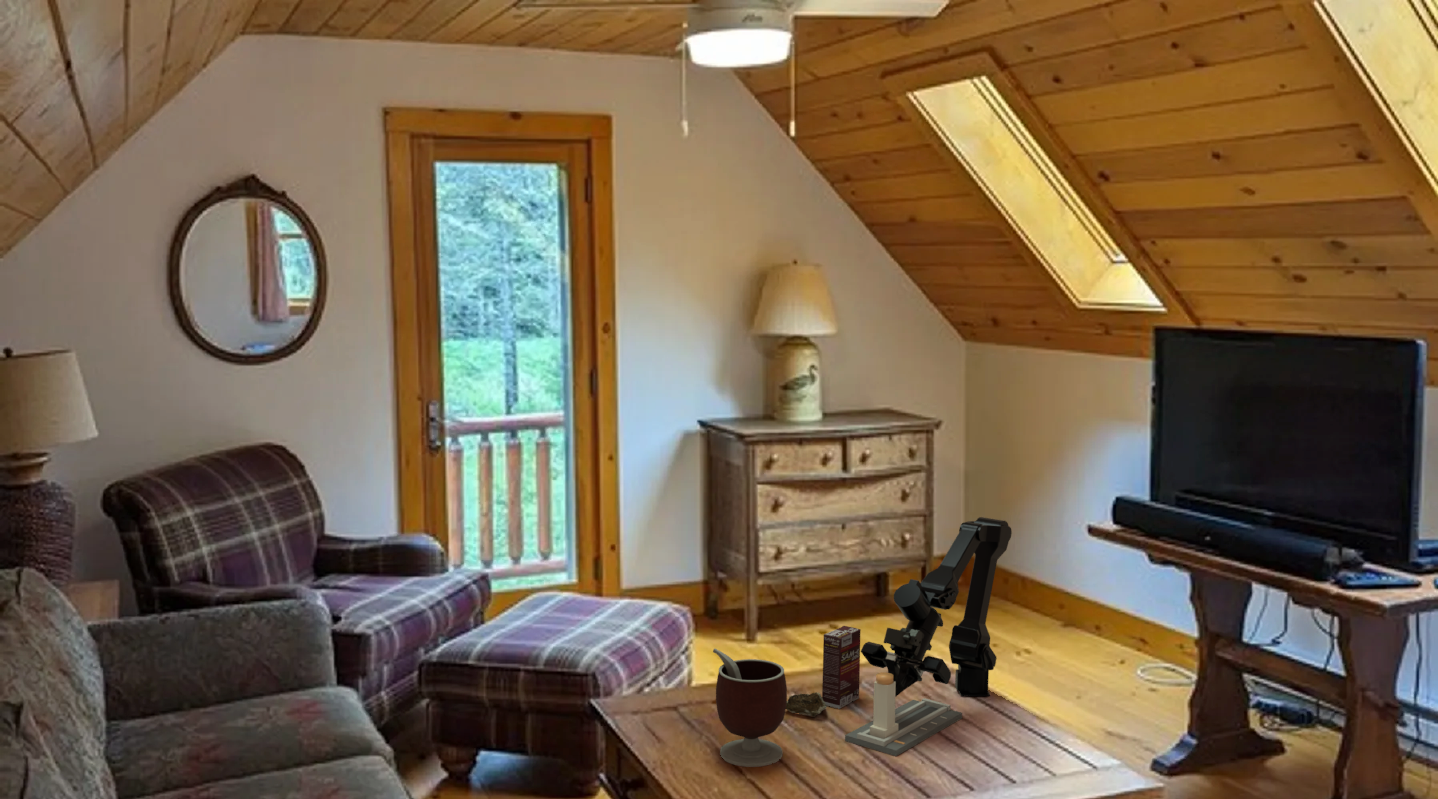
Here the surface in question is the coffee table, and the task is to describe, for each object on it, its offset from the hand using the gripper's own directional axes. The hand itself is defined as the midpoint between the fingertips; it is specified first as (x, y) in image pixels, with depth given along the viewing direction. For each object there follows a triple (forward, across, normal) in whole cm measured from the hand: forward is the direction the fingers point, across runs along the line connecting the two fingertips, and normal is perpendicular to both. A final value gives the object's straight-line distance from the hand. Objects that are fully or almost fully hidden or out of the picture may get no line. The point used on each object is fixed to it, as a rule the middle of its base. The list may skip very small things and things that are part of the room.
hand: (889, 698), depth 252 cm
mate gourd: (+23, -17, -11) cm, 31 cm away
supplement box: (-2, -19, +14) cm, 24 cm away
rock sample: (+6, -21, +7) cm, 23 cm away
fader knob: (+6, 0, +4) cm, 7 cm away
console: (+1, 0, +10) cm, 10 cm away
